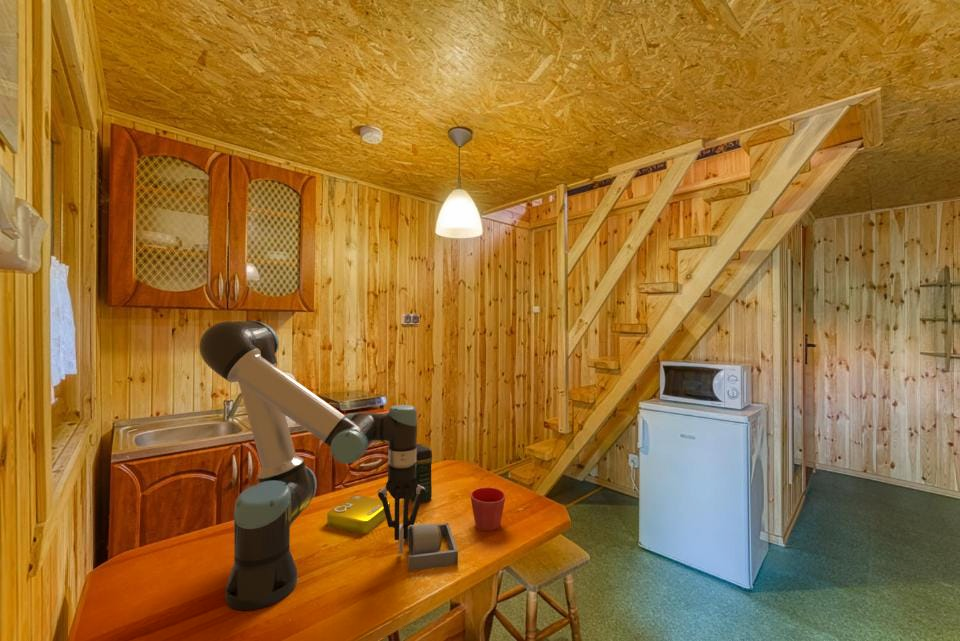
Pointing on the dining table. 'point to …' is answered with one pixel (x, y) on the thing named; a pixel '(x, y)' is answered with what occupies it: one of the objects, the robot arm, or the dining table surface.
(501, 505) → the flower pot
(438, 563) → the box
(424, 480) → the coffee jar
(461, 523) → the dining table surface
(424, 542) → the ceramic mug
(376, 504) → the element tile
